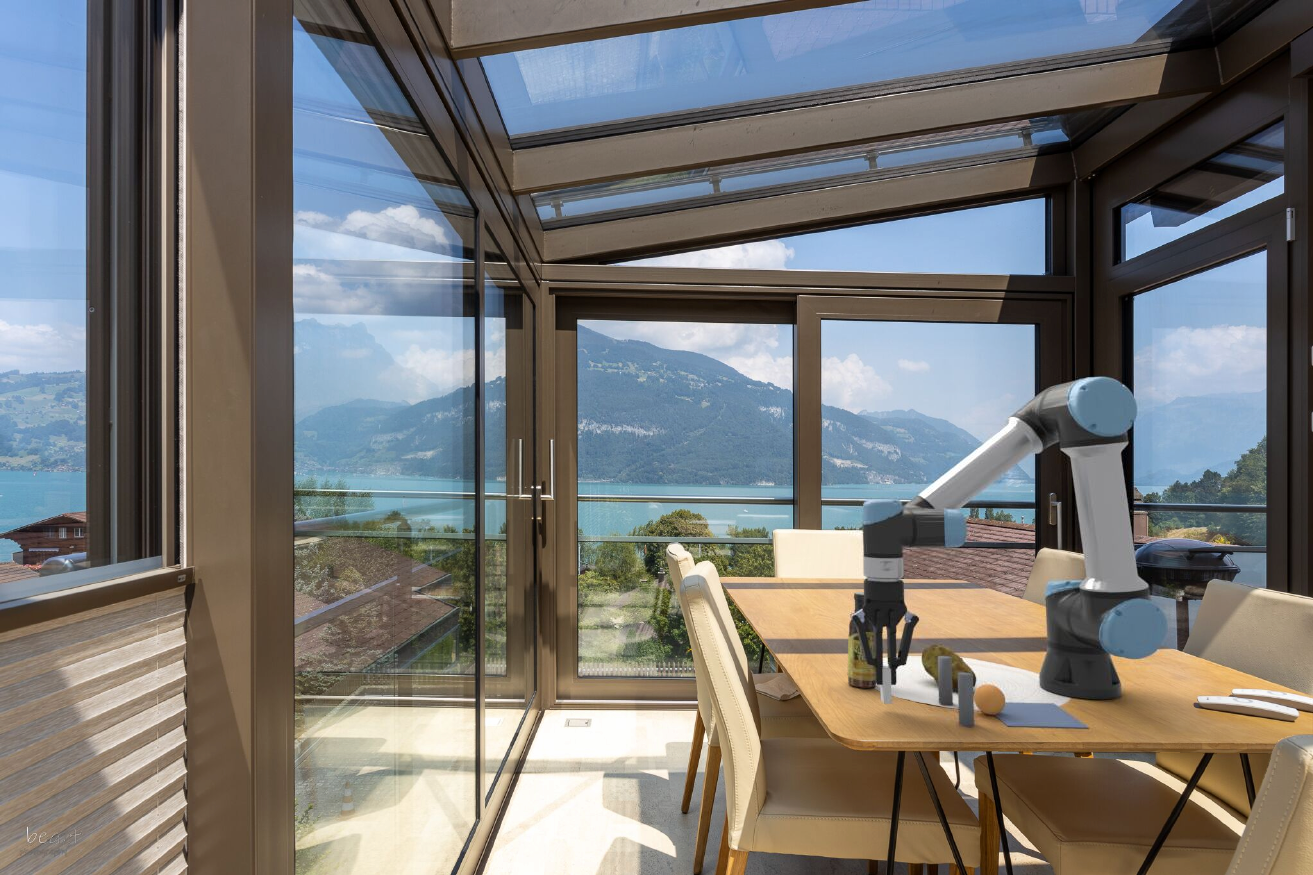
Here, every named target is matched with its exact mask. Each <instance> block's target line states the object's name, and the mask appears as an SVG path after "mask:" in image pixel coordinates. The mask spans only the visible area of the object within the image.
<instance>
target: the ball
mask: <svg viewBox="0 0 1313 875" xmlns="http://www.w3.org/2000/svg"><path fill="white" fill-rule="evenodd" d="M973 694H974V705H975V706H976V708H977V709H978V710H979V711H980V712H981V713H984V714H986V715H989V716H992V715H994V716H995V714H998V713H1000V712H1001V711H1002V710H1003V709H1004V707H1005V702H1006V697H1005V694H1004V693H1003V691H1002V690H1001V689H1000V688H999V687H997V685H993V684H989V683H986V684H982V685H980V686H979V687H977V688H976V689H975V691H974V692H973Z"/></svg>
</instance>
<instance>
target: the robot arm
mask: <svg viewBox="0 0 1313 875" xmlns="http://www.w3.org/2000/svg"><path fill="white" fill-rule="evenodd" d="M1137 416H1138V404H1137V401H1136V398H1135V396H1134V395H1133V393H1132V392H1131V390H1130V388H1128V387H1127V385H1125V384H1123V383H1122V382H1120V381H1119V380H1117V379H1116V378H1115V379H1114V378H1112V377H1107V376H1094V377H1093V376H1091V377H1089V376H1088V377H1085V378H1084V377H1083V378H1079V379H1077V380H1072V381H1070V382H1069V381H1068V382H1065V383H1059V384H1055V385H1053V386H1049V387H1047V388H1046V389H1045V390H1043V391H1041V392H1040V393H1038V394H1037V395H1036V396H1034V397H1033V398H1032V399H1031V400H1029V401H1028V402H1026V403H1025V404H1024V405H1023V406H1022V407H1020V408H1019V409H1018V410H1017V411H1016V412H1015V413H1013V414H1012V415H1010V417H1008V418H1007V419H1006V421H1005V426H1004V427H1003V428H1001V429H1000V430H999V431H998V432H997V433H995V434H994V435H993V436H992V437H990V438H989V439H988V440H987V441H985V442H984V443H983V444H981V445H980V446H979V447H978V448H976V449H975V450H974V451H972V452H970V454H968V455H967V456H966V457H965V458H963V459H961V461H959V462H958V463H956V465H955V466H953V467H952V468H951V469H949V470H948V471H947V472H945V473H944V474H943V475H942V476H941V477H939V478H938V479H936V480H935V481H934V482H933V483H932V484H930V485H929V486H928V487H926V488H925V489H924V490H922V491H921V492H920V493H919V494H917V495H916V496H915V497H913V498H911V500H909V501H908V502H907V503H906V504H903V503H902V501H901V500H900V499H894V498H893V499H890V498H889V499H887V498H886V499H885V498H881V499H880V498H879V499H878V498H877V499H876V498H874V499H872V498H871V499H867V500H865V501H864V502H863V505H862V518H861V519H862V520H861V526H862V545H863V547H862V548H863V549H862V550H863V552H862V553H863V555H862V556H863V557H862V558H863V559H862V561H863V566H862V567H863V570H862V571H863V576H864V577H866V578H864V580H863V592H864V602H863V604H862V607H861V610H859V611H858V612H856V613H855V612H851V614H850V616H849V617H850V620H851V619H852V620H853V622H854V623H855V625H856V628H857V632H858V636H859V639H860V643H861V647H862V651H863V655H864V658H865V661H866V662H867V663H868V664H869V665H872V666H874V667H875V681H876V685H877V686H880V701H881V702H882V704H885V705H891V704H892V703H893V702H892V700H893V699H892V686H896V685H897V682H898V681H897V669H898V668H899V667H901V666H903V667H904V666H906V665H907V660H908V657H909V654H910V649H911V643H912V639H913V635H914V631H915V628H916V626H917V624H918V623H919V621H920V618H919V616H918V615H917V614H915V613H912V612H910V611H909V610H908V606H907V605H906V603H905V582H904V580H902V578H904V576H905V575H904V574H905V573H904V571H905V570H904V548H907V549H912V548H923V549H925V548H937V549H939V548H943V549H949V548H959V547H962V546H963V545H964V544H965V542H966V540H967V534H968V525H967V520H966V517H965V515H964V514H963V513H962V512H961V511H960V509H961V508H962V507H964V506H965V505H966V504H968V503H969V502H970V501H972V500H973V499H974V498H976V497H977V496H978V495H979V494H981V493H982V492H983V491H985V490H986V489H987V488H988V487H989V486H991V485H992V484H993V483H995V482H997V481H998V480H999V479H1000V478H1001V477H1002V476H1004V475H1005V474H1006V473H1008V472H1009V471H1010V470H1012V469H1013V468H1014V467H1016V466H1017V465H1018V464H1020V463H1021V462H1022V461H1023V460H1025V459H1026V458H1028V456H1029V455H1031V454H1041V452H1043V451H1044V450H1045V449H1047V448H1048V447H1050V446H1051V445H1054V444H1056V443H1059V448H1060V451H1062V452H1064V454H1066V455H1067V456H1068V457H1070V462H1071V463H1070V464H1071V471H1072V478H1073V487H1074V493H1075V501H1076V507H1077V508H1076V509H1077V514H1078V523H1079V531H1080V538H1081V545H1082V553H1083V559H1084V566H1085V574H1086V577H1085V578H1084V579H1083V580H1082V579H1081V580H1077V579H1076V580H1073V579H1072V580H1069V579H1068V580H1050V581H1048V582H1047V584H1046V585H1045V594H1044V600H1045V613H1046V615H1045V618H1046V621H1045V622H1046V640H1047V644H1046V645H1047V648H1046V650H1047V651H1046V653H1045V656H1044V660H1043V662H1042V665H1041V668H1040V671H1039V676H1038V677H1039V678H1038V679H1039V686H1040V687H1041V688H1043V689H1044V690H1046V691H1048V692H1052V693H1054V694H1057V695H1061V696H1065V697H1066V696H1067V697H1070V698H1071V697H1072V698H1077V699H1084V700H1085V699H1086V700H1113V699H1117V698H1119V697H1121V696H1122V694H1123V693H1122V692H1123V691H1122V682H1121V679H1120V677H1119V675H1118V672H1117V669H1116V666H1115V664H1114V662H1113V659H1112V656H1114V657H1117V658H1124V659H1129V660H1141V659H1145V658H1148V657H1150V656H1152V655H1153V654H1155V653H1156V652H1157V651H1158V650H1159V648H1160V647H1162V646H1163V645H1164V643H1165V641H1166V639H1167V636H1168V631H1169V630H1168V629H1169V624H1168V619H1167V617H1166V614H1165V612H1164V611H1163V609H1161V608H1160V607H1159V606H1158V605H1157V604H1156V603H1155V602H1153V601H1152V600H1151V593H1150V586H1149V583H1147V582H1146V581H1145V580H1144V579H1142V578H1141V577H1140V576H1139V574H1138V568H1137V562H1136V553H1135V546H1134V540H1133V533H1132V526H1131V518H1130V511H1129V510H1130V509H1129V502H1128V497H1127V489H1126V483H1125V482H1126V481H1125V475H1124V468H1123V462H1122V454H1121V453H1122V451H1123V450H1125V448H1126V447H1127V446H1128V444H1129V437H1128V430H1129V429H1131V427H1132V426H1133V423H1134V422H1136V419H1137ZM864 615H866V617H867V618H868V619H869V621H870V622H871V623H872V624H873V631H874V658H872V654H871V650H870V647H869V643H868V639H867V635H866V631H865V628H864V625H863V622H864ZM903 618H904V622H905V623H904V626H903V630H902V634H901V639H900V643H899V648H898V653H897V626H898V625H899V623H900V622H901V621H902V619H903ZM884 628H886V646H887V647H886V648H887V649H886V650H887V654H886V655H887V657H886V658H887V665H884V656H883V655H884V652H883V651H884V650H883V649H884V646H883V643H884V642H883V633H884Z"/></svg>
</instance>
